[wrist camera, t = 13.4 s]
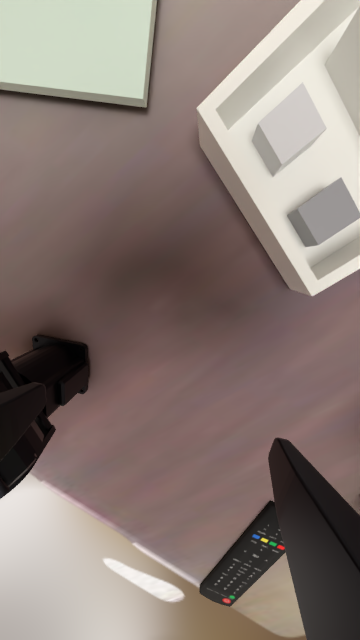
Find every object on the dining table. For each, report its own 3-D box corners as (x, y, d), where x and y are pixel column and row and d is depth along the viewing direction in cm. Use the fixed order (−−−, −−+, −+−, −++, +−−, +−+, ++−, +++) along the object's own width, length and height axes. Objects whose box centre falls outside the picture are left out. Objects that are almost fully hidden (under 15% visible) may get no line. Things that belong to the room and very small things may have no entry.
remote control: (307, 512, 25) (312, 525, 24) (227, 594, 33) (228, 608, 32) (268, 495, 26) (272, 508, 24) (198, 581, 33) (198, 594, 32)
